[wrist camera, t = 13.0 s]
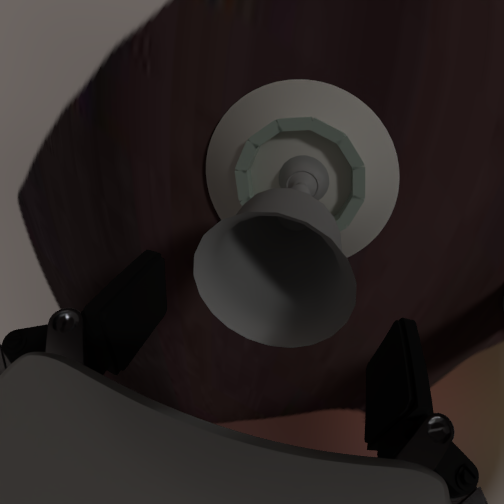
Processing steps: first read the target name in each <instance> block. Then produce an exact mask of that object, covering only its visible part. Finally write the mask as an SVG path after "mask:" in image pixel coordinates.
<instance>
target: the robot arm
mask: <svg viewBox="0 0 504 504" xmlns="http://www.w3.org/2000/svg"><path fill="white" fill-rule="evenodd" d="M166 311H167V300H166V284H165V264H164V258H162V257H161V254H160V253H157V252H154V251H151V250H146V251H144V252H143V253H142V254H141V255H140V256H139V257H138V258H137V259H135V260H134V261H133V262H132V263H131V264H130V265H129V266H128V267H127V268H125V269H124V270H123V271H122V272H121V273H120V274H119V275H118V276H117V277H116V278H115V279H114V280H112V281H111V282H110V283H109V284H108V285H107V286H106V287H105V288H104V289H103V290H102V291H101V292H100V293H99V294H98V295H97V296H96V297H95V298H94V299H93V300H92V301H91V302H90V303H89V304H88V305H86V306H85V307H84V310H83V311H82V312H81V313H80V312H79V311H78V310H76V309H73V308H64V309H61V310H59V311H57V312H55V313H54V314H53V315H52V316H51V318H50V319H49V323H48V325H42V326H36V327H30V328H24V329H18V330H14V331H12V332H10V333H9V334H8V335H7V336H6V337H5V338H4V340H3V343H2V345H0V504H488V503H487V501H486V499H485V497H484V494H483V492H482V490H481V488H480V487H478V488H477V487H476V486H477V483H478V478H479V474H478V470H477V468H476V466H475V465H474V464H473V463H472V462H471V461H470V460H469V459H468V458H467V456H466V455H464V453H463V452H462V451H461V450H460V449H459V448H458V447H457V446H456V445H455V444H454V443H453V442H452V440H453V438H454V427H453V424H452V422H451V421H450V420H449V418H448V417H446V416H445V415H443V414H440V413H433V406H432V399H431V392H430V386H429V380H428V374H427V369H426V364H425V360H424V356H423V352H422V347H421V343H420V338H419V334H418V330H417V326H416V322H415V321H414V320H410V319H406V318H401V319H399V321H398V320H396V321H395V322H394V323H393V325H392V327H391V329H390V330H389V332H388V333H387V335H386V337H385V338H384V340H383V342H382V343H381V345H380V346H379V348H378V349H377V351H376V353H375V354H374V356H373V357H372V359H371V360H370V362H369V363H368V365H367V369H366V419H365V442H366V443H368V446H367V450H377V451H378V453H377V455H378V457H366V456H357V455H349V454H341V453H333V452H327V451H320V450H314V449H308V448H303V447H298V446H293V445H289V444H284V443H280V442H275V441H271V440H267V439H263V438H259V437H255V436H252V435H248V434H244V433H241V432H238V431H234V430H231V429H228V428H225V427H222V426H219V425H216V424H213V423H210V422H207V421H204V420H201V419H199V418H196V417H193V416H191V415H188V414H185V413H183V412H180V411H178V410H175V409H173V408H170V407H168V406H166V405H163V404H161V403H159V402H156V401H154V400H152V399H150V398H148V397H145V396H143V395H141V394H139V393H137V392H135V391H133V390H131V389H129V388H127V387H125V386H123V385H121V384H119V383H117V382H115V381H113V380H111V379H109V378H107V377H105V376H104V375H103V374H104V373H105V372H106V370H108V371H109V372H111V373H113V374H115V375H117V374H118V373H119V372H120V370H122V371H123V370H125V369H126V367H127V366H128V365H129V363H130V362H131V360H132V359H133V358H134V356H135V355H136V353H137V352H138V351H139V349H140V348H141V347H142V345H143V344H144V342H145V341H146V340H147V338H148V337H149V336H150V334H151V333H152V332H153V330H154V329H155V327H156V326H157V325H158V323H159V322H160V321H161V319H162V318H163V317H164V315H165V313H166ZM503 312H504V298H503Z"/></svg>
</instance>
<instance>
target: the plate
mask: <svg viewBox="0 0 504 504" xmlns="http://www.w3.org/2000/svg"><path fill="white" fill-rule="evenodd" d="M301 155H307V156H310V157H314V158H315V159H317V160H318V161H320V162H321V163H322V164H323V165H324V166H325V168H326V169H327V172H328V175H329V187H328V190H327V192H326V194H325V195H324V196H323V197H322V198H321V199H320V200H318V201H320V202H321V203H323V204H324V205H325V207H326V208H327V209H328V210H329V212H330V213H331V214H332V215H333V217H334V218H335V221H336V223H337V226H338V228H339V231H340V236H341V247H342V253H343V254H344V255H345V256H346V258H347V257H350V256H351V255H353V254H355V253H357V252H358V251H360V250H361V249H363V248H364V247H365V246H367V245H368V244H369V243H370V242H371V241H372V240H373V239H374V238H375V237H376V236H377V235H378V234H379V233H380V231H381V230H382V229H383V227H384V226H385V224H386V223H387V221H388V219H389V217H390V216H391V213H392V211H393V208H394V206H395V203H396V199H397V195H398V188H399V165H398V159H397V154H396V151H395V148H394V145H393V142H392V140H391V138H390V136H389V134H388V131H387V130H386V128H385V127H384V125H383V124H382V122H381V121H380V119H379V118H378V117H377V116H376V114H375V113H374V112H373V111H372V110H371V109H370V108H369V107H368V106H367V105H366V104H364V103H363V102H362V101H361V100H359V99H358V98H357V97H355V96H353V95H352V94H350V93H349V92H347V91H345V90H343V89H340V88H338V87H336V86H334V85H330V84H327V83H323V82H320V81H313V80H285V81H278V82H275V83H271V84H268V85H265V86H262V87H260V88H258V89H256V90H254V91H252V92H250V93H249V94H247V95H245V96H244V97H242V98H241V99H240V100H239V101H237V102H236V103H235V104H234V105H233V106H232V107H231V108H230V109H229V110H228V111H227V112H226V114H225V115H224V116H223V117H222V119H221V121H220V122H219V124H218V125H217V127H216V129H215V131H214V133H213V135H212V138H211V141H210V144H209V148H208V152H207V159H206V179H207V186H208V190H209V195H210V198H211V200H212V203H213V206H214V208H215V210H216V212H217V214H218V216H219V217H220V219H221V220H223V219H226V218H229V217H232V216H235V215H236V214H237V213H238V211H239V210H240V209H241V208H242V206H243V205H244V204H245V203H246V202H247V201H248V200H250V199H251V198H252V197H253V196H255V195H256V194H257V193H260V192H263V191H266V190H269V189H272V188H281V187H280V185H279V173H280V169H281V168H282V166H283V164H284V163H285V162H286V161H288V160H289V159H290V158H293V157H295V156H301Z"/></svg>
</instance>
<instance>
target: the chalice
mask: <svg viewBox="0 0 504 504" xmlns="http://www.w3.org/2000/svg"><path fill="white" fill-rule="evenodd" d="M279 185H280V187H281V188H272V189H269V190H266V191H263V192H260V193H257V194H256V195H255V196H253V197H252V198H251V199H250V200H248V201H247V202H246V203H245V204H244V205H243V206H242V208H241V209H240V210H239V211H238V213H237V214H236V215H235V216H232V217H229V218H226V219H223V220H221V221H220V222H219V223H217V224H216V225H215V226H214V227H213V228H211V229H210V230H209V231H208V232H207V233H205V234H204V235H203V237H202V239H201V241H200V243H199V245H198V248H197V250H196V252H195V254H194V278H195V281H196V284H197V288H198V291H199V294H200V296H201V297H202V299H203V300H204V302H205V303H206V305H207V306H208V308H209V309H210V311H211V312H212V313H213V314H214V315H215V316H216V317H217V318H218V319H219V320H221V321H222V322H223V323H224V324H225V325H226V326H227V327H228V328H230V329H232V330H233V331H235V332H237V333H239V334H240V335H242V336H244V337H246V338H247V339H250V340H253V341H256V342H259V343H263V344H266V345H269V346H278V347H288V348H293V347H300V346H308V345H313V344H315V343H318V342H320V341H322V340H325V339H327V338H329V337H331V336H333V335H334V334H335V333H336V332H337V331H338V330H339V329H340V328H341V327H342V326H344V325H345V324H346V323H347V321H348V319H349V317H350V315H351V313H352V311H353V308H354V306H355V303H356V280H355V277H354V275H353V272H352V269H351V266H350V263H349V260H348V259H347V258H346V256H345V255H344V254H343V253H342V247H341V236H340V231H339V228H338V226H337V223H336V221H335V218H334V217H333V215H332V214H331V213H330V212H329V210H328V209H327V208H326V207H325V205H324V204H323V203H321V202H320V201H318V200H320V199H321V198H322V197H323V196H324V195H325V194H326V192H327V190H328V187H329V175H328V172H327V169H326V168H325V166H324V165H323V164H322V163H321V162H320V161H318V160H317V159H315V158H314V157H310V156H307V155H301V156H295V157H293V158H290V159H289V160H288V161H286V162H285V163H284V164H283V166H282V168H281V169H280V173H279Z"/></svg>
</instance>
